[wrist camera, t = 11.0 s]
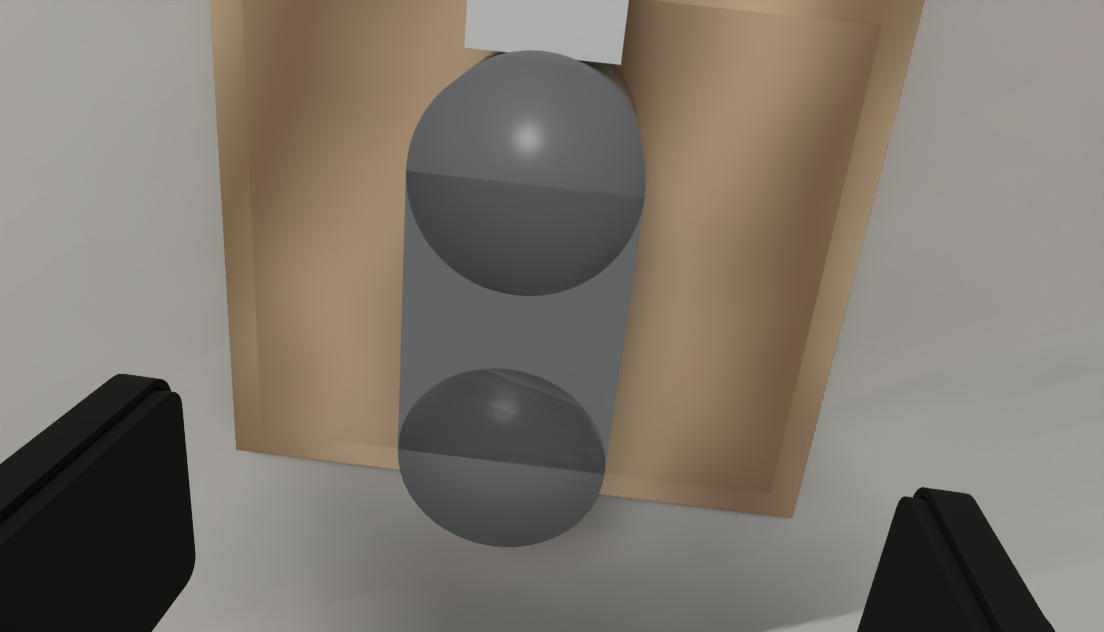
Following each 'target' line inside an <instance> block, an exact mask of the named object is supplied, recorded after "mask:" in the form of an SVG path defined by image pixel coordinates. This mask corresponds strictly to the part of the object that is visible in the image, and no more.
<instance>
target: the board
mask: <svg viewBox="0 0 1104 632" xmlns="http://www.w3.org/2000/svg"><path fill="white" fill-rule="evenodd" d="M924 1H925V0H629V3H628V11H627V19H626V27H625V35H624V43H623V51H622V59H621V65H618V64H612V65H613V66H614V67H615V68H616V70H617V71H618V72H619V73H620V75H621V76H622V78H623V79H624V81H625V82H626V84H627V86H628V88H629V90H630V92H631V94H632V97H633V100H634V103H635V106H636V111H637V116H638V122H639V129H640V136H641V143H642V150H643V157H644V164H645V177H646V187H645V199H644V206H643V213H642V219H641V226H640V233H639V240H638V247H637V254H636V261H635V268H634V275H633V282H632V288H631V295H630V302H629V309H628V316H627V323H626V330H625V337H624V344H623V351H622V357H621V364H620V371H619V378H618V385H617V392H616V399H615V406H614V413H613V420H612V426H611V433H610V440H609V447H608V454H607V461H606V468H605V475H604V479H603V484H602V487H601V490H600V492H599V494H601V495H609V496H617V497H626V498H634V499H642V500H650V501H658V502H666V503H675V504H683V505H691V506H699V507H707V508H715V509H724V510H732V511H740V512H748V513H756V514H764V515H773V516H781V517H789V518H792V517H793V513H794V509H795V505H796V501H797V497H798V493H799V489H800V486H801V482H802V478H803V474H804V470H805V466H806V462H807V458H808V454H809V450H810V446H811V443H812V439H813V435H814V431H815V427H816V423H817V419H818V415H819V411H820V407H821V403H822V399H823V396H824V392H825V388H826V384H827V380H828V376H829V372H830V368H831V364H832V360H833V356H834V353H835V349H836V345H837V341H838V337H839V333H840V329H841V325H842V321H843V317H844V313H845V310H846V306H847V302H848V298H849V294H850V290H851V286H852V282H853V278H854V274H855V270H856V267H857V263H858V259H859V255H860V251H861V247H862V243H863V239H864V235H865V231H866V227H867V224H868V220H869V216H870V212H871V208H872V204H873V200H874V196H875V192H876V188H877V184H878V180H879V177H880V173H881V169H882V165H883V161H884V157H885V153H886V149H887V145H888V141H889V137H890V134H891V130H892V126H893V122H894V118H895V114H896V110H897V106H898V102H899V98H900V94H901V91H902V87H903V83H904V79H905V75H906V71H907V67H908V63H909V59H910V55H911V51H912V48H913V44H914V40H915V36H916V32H917V28H918V24H919V20H920V16H921V12H922V8H923V4H924ZM466 10H467V0H210V12H211V29H212V46H213V63H214V80H215V97H216V114H217V131H218V148H219V165H220V182H221V199H222V215H223V232H224V249H225V266H226V283H227V300H228V317H229V334H230V351H231V368H232V385H233V402H234V419H235V436H236V450H242V451H250V452H258V453H266V454H275V455H283V456H291V457H299V458H307V459H315V460H324V461H332V462H340V463H348V464H356V465H364V466H373V467H381V468H389V469H397V470H400V467H399V462H398V423H399V389H400V355H401V321H402V287H403V253H404V219H405V185H406V165H407V155H408V151H409V146H410V142H411V139H412V136H413V134H414V131H415V128H416V126H417V124H418V122H419V120H420V119H421V117H422V115H423V113H424V111H425V110H426V109H427V107H428V106H429V105H430V103H431V102H432V101H433V99H434V98H435V97H436V96H437V95H438V94H439V93H440V92H441V91H442V90H443V89H444V88H445V87H447V86H448V85H449V84H451V83H452V82H453V81H455V80H456V79H457V78H459V77H460V76H461V75H463V74H464V73H465V72H467V71H468V70H469V69H471V68H472V67H473V66H475V65H476V64H477V63H479V62H480V61H481V60H483V59H484V58H485V57H487V56H488V55H489V54H491V53H492V52H493V51H490V50H481V49H472V48H464V47H465V28H466Z"/></svg>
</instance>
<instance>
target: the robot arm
mask: <svg viewBox="0 0 1104 632" xmlns="http://www.w3.org/2000/svg"><path fill="white" fill-rule="evenodd" d="M194 565H195V543H194V532H193V520H192V509H191V498H190V487H189V476H188V465H187V454H186V443H185V431H184V420H183V409H182V402H181V398H180V396H179V394H177V393H176V392H171V389H170V387H169V385H168V383H167V382H166V381H164V380H163V379H156V378H149V377H142V376H135V375H128V374H117V375H116V376H114V377H112V378H111V379H109V380H108V381H107V382H106V383H104V384H103V385H102V386H100V387H99V388H98V389H96V390H95V391H94V392H93V393H91V394H90V395H89V396H87V397H86V398H85V399H84V400H82V401H81V402H80V403H78V404H77V405H76V406H75V407H73V408H72V409H71V410H69V411H68V412H67V413H66V414H64V415H63V416H62V417H60V418H59V419H58V420H56V421H55V422H54V423H53V424H51V425H50V426H49V427H47V428H46V429H45V430H44V431H42V432H41V433H40V434H38V435H37V436H36V437H35V438H33V439H32V440H31V441H29V442H28V443H27V444H26V445H24V446H23V447H22V448H20V449H19V450H18V451H17V452H15V453H14V454H13V455H11V456H10V457H9V458H7V459H6V460H5V461H4V462H2V463H1V464H0V632H152V630H153V629H154V628H155V626H156V625H157V624H158V622H159V621H160V620H161V618H162V617H163V616H164V614H165V613H166V612H167V610H168V609H169V608H170V606H171V605H172V604H173V602H174V601H175V600H176V598H177V597H178V596H179V594H180V593H181V591H182V590H183V589H184V587H185V586H186V585H187V583H188V581H189V580H190V577H191V575H192V572H193V569H194ZM857 632H1055V630H1054V629H1053V627H1052V625H1051V624H1050V623H1049V622H1048V620H1047V619H1046V618H1045V617H1044V615H1043V613H1042V612H1041V610H1040V608H1039V607H1038V605H1037V603H1036V602H1035V600H1034V598H1033V597H1032V595H1031V593H1030V592H1029V590H1028V588H1027V586H1026V585H1025V583H1024V581H1023V580H1022V578H1021V576H1020V575H1019V573H1018V571H1017V570H1016V568H1015V566H1014V565H1013V563H1012V561H1011V560H1010V558H1009V556H1008V555H1007V553H1006V551H1005V550H1004V548H1003V546H1002V545H1001V543H1000V541H999V540H998V538H997V536H996V535H995V533H994V531H993V530H992V528H991V526H990V525H989V523H988V521H987V519H986V518H985V516H984V514H983V513H982V511H981V509H980V508H979V506H978V504H977V503H976V501H975V500H974V498H973V497H972V496H971V495H969V494H966V493H959V492H952V491H945V490H938V489H931V488H924V487H922V488H920V489H918V490H917V491H916V493H915V494H914V496H913V498H912V497H905V496H904V497H902V498H901V499H900V501H899V502H898V505H897V507H896V510H895V514H894V517H893V520H892V523H891V526H890V529H889V533H888V536H887V539H886V542H885V545H884V548H883V552H882V555H881V558H880V561H879V564H878V567H877V571H876V574H875V577H874V580H873V583H872V586H871V589H870V593H869V596H868V599H867V602H866V605H865V608H864V612H863V615H862V618H861V621H860V624H859V628H858V631H857Z"/></svg>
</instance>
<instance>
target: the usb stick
mask: <svg viewBox="0 0 1104 632" xmlns="http://www.w3.org/2000/svg"><path fill="white" fill-rule="evenodd" d="M628 3H629V0H467V10H466V28H465V47H464V48H472V49H481V50H490V51H493V52H492V53H491V54H489V55H488V56H487V57H485V58H484V59H483V60H481V61H480V62H479V63H477V64H476V65H475V66H473V67H472V68H471V69H469V70H468V71H467V72H465V73H464V74H463V75H461V76H460V77H459V78H457V79H456V80H455V81H453V82H452V83H451V84H449V85H448V86H447V87H445V88H444V89H443V90H442V91H441V92H440V93H439V94H438V95H437V96H436V97H435V98H434V99H433V101H432V102H431V103H430V105H429V106H428V107H427V109H426V110H425V111H424V113H423V115H422V117H421V119H420V120H419V122H418V124H417V126H416V128H415V131H414V134H413V136H412V139H411V142H410V146H409V151H408V155H407V165H406V185H405V219H404V253H403V287H402V321H401V355H400V389H399V423H398V462H399V467H400V472H401V475H402V478H403V481H404V484H405V486H406V488H407V490H408V491H409V493H410V495H411V497H412V498H413V499H414V501H415V502H416V504H417V505H418V506H419V507H420V508H421V509H422V511H423V512H424V513H425V514H426V515H427V516H429V517H430V518H431V519H432V520H433V521H434V522H436V523H437V524H438V525H440V526H441V527H443V528H444V529H446V530H448V531H449V532H451V533H453V534H455V535H457V536H459V537H462V538H464V539H467V540H470V541H473V542H477V543H480V544H485V545H491V546H501V547H517V546H526V545H532V544H536V543H540V542H543V541H546V540H549V539H551V538H554V537H556V536H558V535H560V534H562V533H564V532H565V531H567V530H568V529H570V528H571V527H573V526H574V525H575V524H577V523H578V522H579V521H580V520H581V519H582V518H583V517H584V516H585V515H586V513H587V512H588V511H589V510H590V508H591V507H592V506H593V504H594V502H595V500H596V499H597V497H598V495H599V492H600V490H601V487H602V484H603V479H604V475H605V468H606V461H607V454H608V447H609V440H610V433H611V426H612V420H613V413H614V406H615V399H616V392H617V385H618V378H619V371H620V364H621V357H622V351H623V344H624V337H625V330H626V323H627V316H628V309H629V302H630V295H631V288H632V282H633V275H634V268H635V261H636V254H637V247H638V240H639V233H640V226H641V219H642V213H643V206H644V199H645V187H646V177H645V164H644V157H643V150H642V143H641V136H640V129H639V122H638V116H637V111H636V106H635V103H634V100H633V97H632V94H631V92H630V90H629V88H628V86H627V84H626V82H625V81H624V79H623V78H622V76H621V75H620V73H619V72H618V71H617V70H616V68H615V67H614V66H613V65H612V64H618V65H621V59H622V51H623V43H624V35H625V27H626V19H627V11H628Z"/></svg>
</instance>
